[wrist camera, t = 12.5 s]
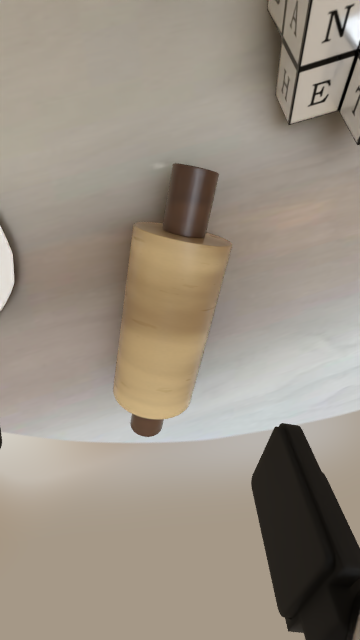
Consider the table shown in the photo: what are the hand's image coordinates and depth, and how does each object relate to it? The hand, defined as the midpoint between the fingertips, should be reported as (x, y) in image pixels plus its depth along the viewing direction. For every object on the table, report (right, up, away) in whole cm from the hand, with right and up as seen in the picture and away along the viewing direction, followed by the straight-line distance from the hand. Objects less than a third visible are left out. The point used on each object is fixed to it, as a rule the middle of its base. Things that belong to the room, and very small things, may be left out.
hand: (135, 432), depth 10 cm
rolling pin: (+1, +5, +13) cm, 14 cm away
